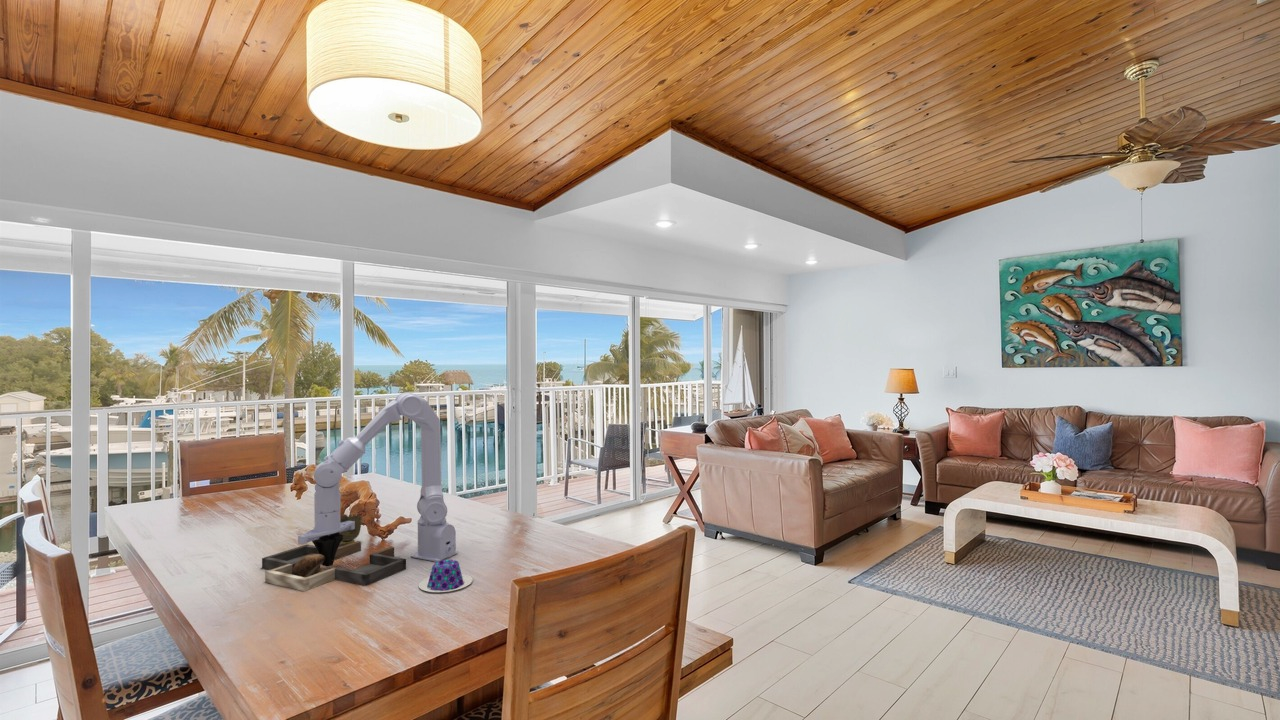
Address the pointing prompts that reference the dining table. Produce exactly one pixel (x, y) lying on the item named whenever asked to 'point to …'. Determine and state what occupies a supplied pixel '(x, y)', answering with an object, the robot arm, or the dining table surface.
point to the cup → (350, 534)
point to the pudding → (445, 577)
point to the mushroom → (308, 565)
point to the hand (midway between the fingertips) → (327, 565)
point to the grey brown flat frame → (374, 571)
